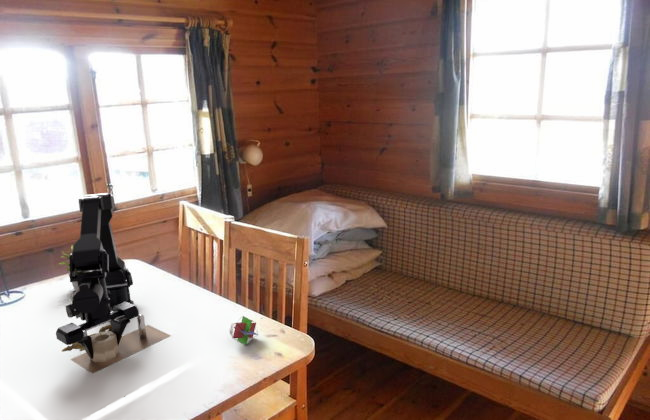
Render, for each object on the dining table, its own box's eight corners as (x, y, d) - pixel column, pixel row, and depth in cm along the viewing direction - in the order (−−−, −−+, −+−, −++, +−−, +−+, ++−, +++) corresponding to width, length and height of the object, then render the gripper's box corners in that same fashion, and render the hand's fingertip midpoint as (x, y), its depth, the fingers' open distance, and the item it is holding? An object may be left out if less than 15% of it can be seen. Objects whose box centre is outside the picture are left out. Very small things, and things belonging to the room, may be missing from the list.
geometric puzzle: (253, 322, 138) (236, 307, 133) (268, 330, 134) (252, 315, 129) (237, 344, 136) (220, 330, 131) (252, 353, 131) (235, 338, 126)
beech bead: (109, 346, 130) (106, 329, 129) (122, 353, 127) (119, 336, 125) (86, 357, 126) (83, 339, 124) (99, 364, 122) (96, 346, 121)
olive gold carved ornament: (68, 367, 126) (125, 344, 136) (65, 351, 124) (124, 329, 134) (55, 350, 132) (111, 330, 142) (52, 335, 131) (109, 315, 141)
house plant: (92, 298, 164) (85, 251, 160) (51, 299, 164) (42, 252, 160) (111, 281, 178) (104, 238, 174) (73, 282, 178) (65, 239, 174)
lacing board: (148, 328, 142) (148, 324, 142) (171, 339, 135) (171, 335, 135) (71, 363, 125) (70, 359, 125) (93, 377, 119) (92, 373, 118)
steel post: (144, 335, 136) (141, 312, 134) (148, 337, 135) (144, 314, 133) (138, 337, 134) (135, 314, 133) (142, 339, 133) (138, 316, 132)
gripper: (113, 276, 134) (121, 329, 138) (40, 301, 120) (51, 359, 124) (136, 285, 127) (143, 340, 131) (62, 313, 113) (73, 373, 117)
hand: (104, 352), depth 126 cm, fingers closed on beech bead, 6 cm apart
